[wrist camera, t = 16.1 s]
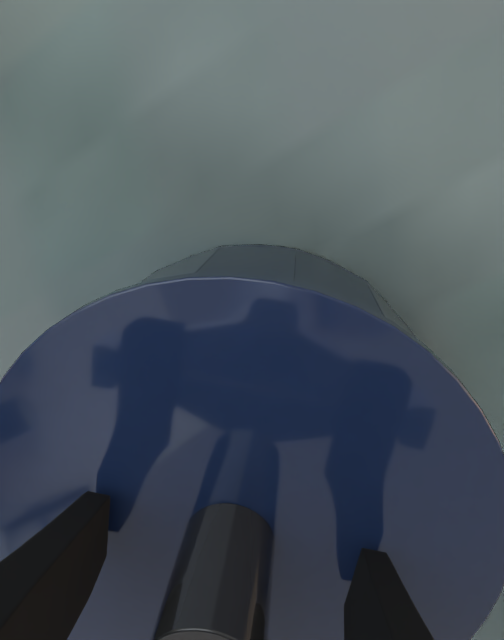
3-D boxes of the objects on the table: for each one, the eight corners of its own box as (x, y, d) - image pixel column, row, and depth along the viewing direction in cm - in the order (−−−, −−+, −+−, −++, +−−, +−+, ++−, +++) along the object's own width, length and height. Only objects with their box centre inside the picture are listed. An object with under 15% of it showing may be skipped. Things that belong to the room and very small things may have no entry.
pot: (450, 250, 16) (541, 306, 10) (402, 548, 20) (445, 715, 14) (84, 237, 17) (-38, 280, 11) (113, 520, 21) (37, 664, 15)
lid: (556, 277, 10) (735, 362, 6) (452, 706, 15) (512, 924, 11) (-45, 254, 11) (-249, 309, 7) (34, 654, 16) (-61, 830, 12)
